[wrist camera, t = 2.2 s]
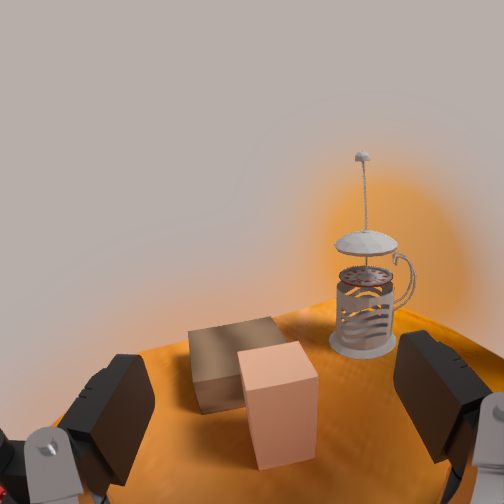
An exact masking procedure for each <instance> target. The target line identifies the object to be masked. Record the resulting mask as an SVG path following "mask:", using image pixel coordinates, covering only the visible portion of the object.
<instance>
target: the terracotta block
mask: <svg viewBox="0 0 504 504" xmlns="http://www.w3.org/2000/svg"><path fill="white" fill-rule="evenodd" d="M237 354H238V360H239V367H240V373H241V380H242V386H243V392H244V399H245V405H246V411H247V417H248V423H249V429H250V434H251V439H252V443H253V447H254V452H255V456H256V460H257V464H258V468H259V471H260V470H265V469H270V468H275V467H280V466H285V465H289V464H294V463H298V462H302V461H306V460H310V459H314V458H315V452H316V436H317V416H318V388H319V376H318V374H317V372H316V370H315V369H314V367H313V365H312V364H311V362H310V360H309V359H308V357H307V355H306V353H305V352H304V350H303V348H302V347H301V345H300V343H299V341H295V342H290V343H285V344H280V345H274V346H269V347H263V348H257V349H251V350H245V351H239V352H237Z"/></svg>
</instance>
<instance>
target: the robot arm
mask: <svg viewBox="0 0 504 504" xmlns="http://www.w3.org/2000/svg"><path fill="white" fill-rule="evenodd" d="M393 380H394V387H395V390H396V392H397V394H398V396H399V398H400V400H401V402H402V403H403V405H404V407H405V409H406V411H407V412H408V414H409V416H410V418H411V420H412V422H413V424H414V425H415V427H416V429H417V431H418V433H419V435H420V437H421V439H422V441H423V442H424V444H425V446H426V448H427V450H428V452H429V454H430V456H431V458H432V460H433V462H434V464H436V463H439V462H441V461H444V460H446V459H449V461H450V463H451V465H450V467H449V468H448V471H447V474H446V477H445V481H444V484H443V487H442V490H441V493H440V496H439V498H438V501H437V504H504V392H496V393H493V392H492V391H491V390H490V389H489V388H488V387H487V385H486V384H485V383H484V382H483V381H482V380H481V379H480V378H479V376H478V375H477V374H476V373H475V372H474V371H473V370H472V369H471V368H470V367H468V364H467V363H466V362H465V361H464V360H463V359H462V360H461V357H460V356H459V355H458V354H457V353H456V352H455V351H454V350H453V349H452V348H451V347H449V346H447V345H445V344H443V343H441V342H436V341H435V340H434V339H433V338H432V337H431V336H430V335H429V333H428V332H427V331H425V330H420V331H415V332H410V333H405V334H402V335H401V337H400V339H399V345H398V351H397V358H396V363H395V369H394V376H393ZM154 407H155V396H154V392H153V389H152V386H151V383H150V380H149V377H148V373H147V370H146V367H145V364H144V361H143V359H142V357H141V356H140V355H128V354H117V355H116V356H115V357H114V358H113V360H112V361H111V362H110V364H109V365H108V367H107V368H103V369H102V370H100V371H99V372H98V373H96V374H95V375H94V376H92V377H91V379H90V380H89V381H88V383H87V384H86V385H85V389H83V390H82V391H81V393H80V394H79V398H76V400H75V401H74V402H73V404H72V405H71V407H70V408H69V410H68V411H67V412H66V414H65V415H64V417H63V418H62V420H61V421H60V423H59V424H58V426H57V427H44V428H41V429H38V430H36V431H35V432H33V433H32V434H31V435H30V436H29V437H28V438H27V440H26V441H16V440H8V438H7V437H6V436H5V434H4V433H3V431H2V430H1V429H0V486H1V487H2V488H3V489H4V490H5V492H6V494H5V496H4V498H3V500H2V502H1V504H114V503H113V500H112V498H111V496H110V494H109V493H108V491H107V490H108V488H109V485H110V483H111V484H115V485H120V486H125V484H126V481H127V478H128V476H129V473H130V470H131V468H132V465H133V463H134V460H135V457H136V455H137V452H138V449H139V447H140V444H141V442H142V439H143V437H144V434H145V431H146V429H147V426H148V424H149V421H150V419H151V416H152V414H153V411H154Z"/></svg>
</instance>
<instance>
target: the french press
mask: <svg viewBox="0 0 504 504" xmlns="http://www.w3.org/2000/svg"><path fill="white" fill-rule="evenodd" d="M355 161H361V162H362V164H363V177H364V195H365V226H366V227H365V228H366V230H363V231H359V232H353V233H350V234H348V235H345V236H344V237H342V238H341V239H339V240H338V241H337V242H336V243H335V248H336V249H337V250H338V251H339V252H340V253H343V254H346V255H352V256H360V257H366V266H359V267H358V266H357V267H356V266H355V267H350V268H347V269H345V270H343V271H342V272H340V274H339V278H340V279H341V281H340V282H339V283H338V284H337V317H336V330H335V331H334V332H333V333H331V335H330V338H329V343H330V346H331V348H332V349H333V350H335V351H336V352H337V353H338V354H340V355H343V356H346V357H349V358H352V359H372V358H378V357H381V356H383V355H385V354H387V353H389V352H391V351H392V349H393V348H394V347H395V345H396V337H395V335H394V334H393V333H392V327H393V318H394V311H395V310H396V309H398V308H400V307H401V306H403V305H404V304H406V303H407V302H408V301H409V299H410V298H411V296H412V294H413V292H414V289H415V284H416V273H415V270H414V268H413V265H412V263H411V262H410V261H409V260H408V259H407V258H406V257H405V256H404V255H402V254H401V253H399V252H394V253H393V263H394V264H395V265H397V259H398V258H399V257H400V258H402V259H404V260H406V261H407V262H408V264H409V266H410V270H411V280H410V284H409V287H408V289H407V292H408V291H409V289H410V287H411V284H412V276H413V274H414V283H413V290H412V292H411V294H410V296H409V298H408V299H407V300H406V301H405V302H404V303H403V304H401V305H399V306H397V307H395V308H394V309H393V304H395V303H396V302H398V301H400V300H402V299H403V298H404V297H405V296H406V295H407V292H406V293H405V295H403V296H402V297H401V298H400V299H398V300H396V301H394V302H393V300H394V290H393V283H392V282H391V280H392V279H393V274H392V273H391V272H390V271H389V270H387V269H384V268H380V267H376V266H375V267H374V266H373V267H372V266H367V257H373V256H382V255H386V254H389V253H392V252H393V251H395V250H396V249H397V242H395V241H394V240H393V239H392V238H391V237H389V236H387V235H385V234H381V233H379V232H376V231H370V230H367V210H366V209H367V208H366V186H365V170H364V161H370V157H369V155H368V154H367V153H366V152H359V153H357V154H356V156H355ZM396 253H397V254H399V255H398V256H397V257H396V260H395V254H396ZM412 270H413V272H412ZM379 286H380V287H381V288H382V292H380V291H379V290H378V289H376V288H373V287H379ZM355 287H362V288H360V289H358V290H357V291H355V292H354V293H352V294H350V295H349V296H348V295H345V293H347V292H348V291H350V290H352V289H353V288H355ZM392 290H393V291H392ZM366 291H371V292H375V293H377V294H378V295H380V297H375V296H371V295H363V296H360V297H358V298H357V297H354V296H356V295H357V294H359V293H361V292H366ZM377 305H381V308H379V307H378V306H377ZM369 307H370V308H373V309H376V310H375V311H369V310H367V311H361V310H364V309H367V308H369ZM344 310H345V311H346V313H345V314H343V313H342V311H344ZM359 311H360V312H359ZM353 312H359V313H357V314H355V315H354V316H352V317H347V316H348V315H350V314H352V313H353ZM378 314H381V316H379V315H378ZM341 319H344V320H345V321H344V322H342V321H341Z"/></svg>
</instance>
